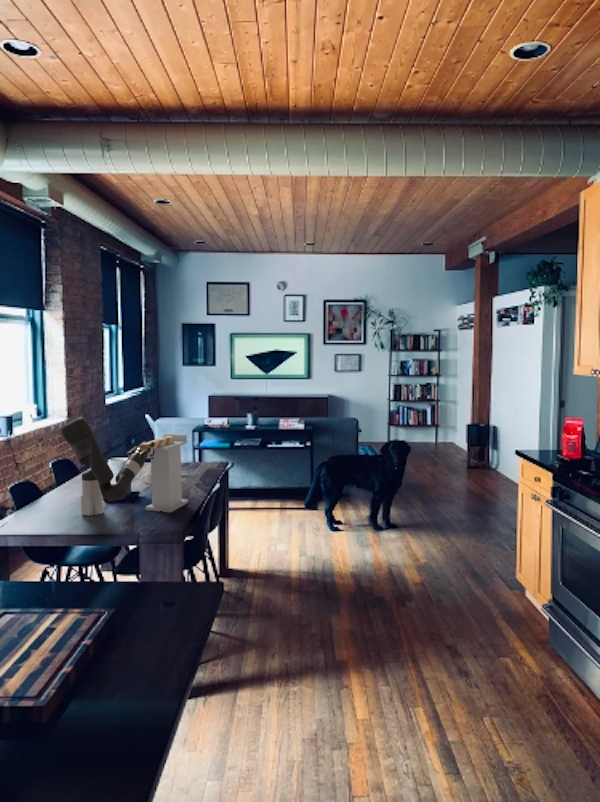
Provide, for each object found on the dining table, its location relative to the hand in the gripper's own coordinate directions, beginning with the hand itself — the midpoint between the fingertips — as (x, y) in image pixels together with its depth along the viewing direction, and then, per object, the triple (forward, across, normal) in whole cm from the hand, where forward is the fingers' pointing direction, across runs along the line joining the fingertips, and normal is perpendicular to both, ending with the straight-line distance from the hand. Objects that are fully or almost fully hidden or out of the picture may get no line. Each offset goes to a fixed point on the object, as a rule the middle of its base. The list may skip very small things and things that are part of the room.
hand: (149, 442), depth 288 cm
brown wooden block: (+5, 0, +6) cm, 8 cm away
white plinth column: (-5, 0, +38) cm, 38 cm away
